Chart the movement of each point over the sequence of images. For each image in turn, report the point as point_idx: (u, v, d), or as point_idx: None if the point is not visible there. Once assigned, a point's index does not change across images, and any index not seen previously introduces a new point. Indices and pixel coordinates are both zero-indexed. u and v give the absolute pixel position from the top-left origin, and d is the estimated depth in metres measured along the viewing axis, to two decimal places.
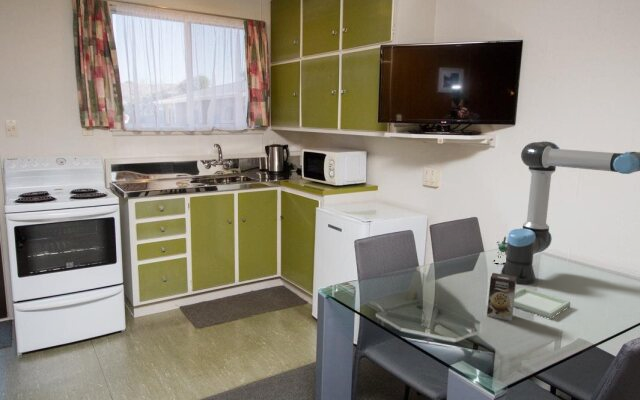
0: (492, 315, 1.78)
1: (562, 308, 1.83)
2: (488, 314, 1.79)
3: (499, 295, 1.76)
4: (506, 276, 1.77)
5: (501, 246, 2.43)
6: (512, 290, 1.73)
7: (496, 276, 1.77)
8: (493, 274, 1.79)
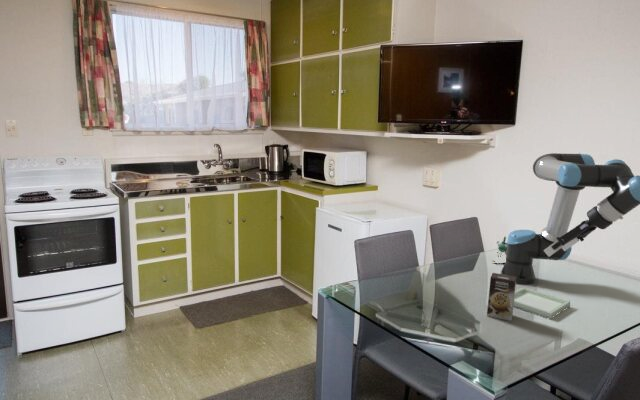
0: (492, 315, 1.78)
1: (562, 308, 1.83)
2: (488, 314, 1.79)
3: (499, 295, 1.76)
4: (506, 276, 1.77)
5: (501, 246, 2.43)
6: (512, 290, 1.73)
7: (496, 276, 1.77)
8: (493, 274, 1.79)
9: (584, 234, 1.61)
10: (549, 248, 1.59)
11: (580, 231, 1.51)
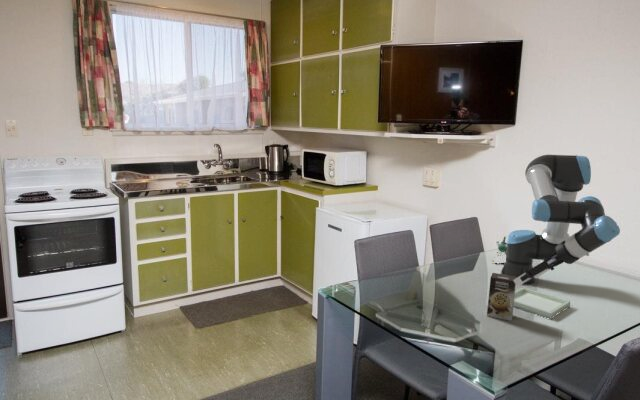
0: (492, 315, 1.78)
1: (562, 308, 1.83)
2: (488, 314, 1.79)
3: (499, 295, 1.76)
4: (506, 276, 1.77)
5: (501, 246, 2.43)
6: (512, 290, 1.73)
7: (496, 276, 1.77)
8: (493, 274, 1.79)
9: None
10: (518, 278, 1.64)
11: (547, 266, 1.55)
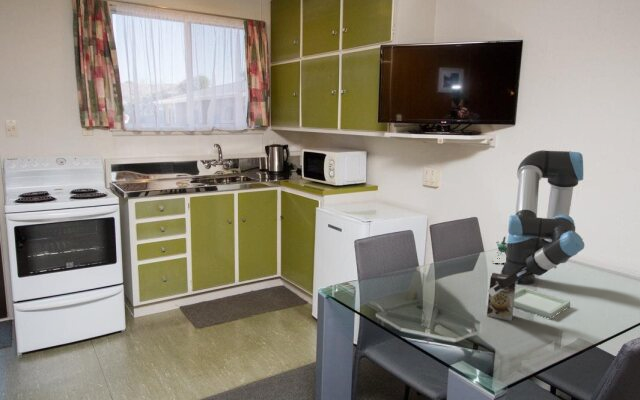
0: (492, 315, 1.78)
1: (562, 308, 1.83)
2: (488, 314, 1.79)
3: (499, 295, 1.76)
4: (506, 276, 1.77)
5: (500, 246, 2.43)
6: (512, 290, 1.73)
7: (496, 276, 1.77)
8: (493, 274, 1.79)
9: None
10: (492, 289, 1.75)
11: (516, 278, 1.66)
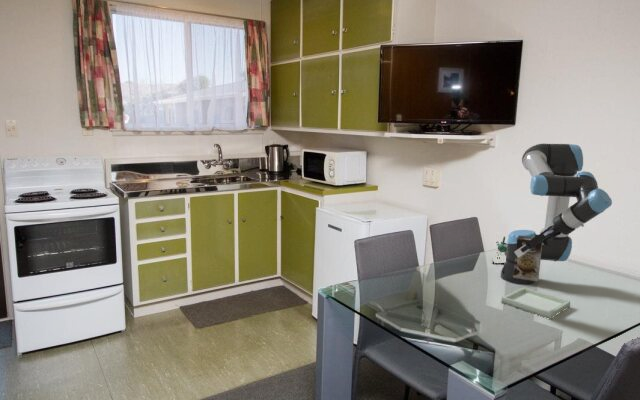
0: (519, 276, 1.82)
1: (562, 308, 1.83)
2: (515, 275, 1.82)
3: (526, 256, 1.79)
4: (532, 238, 1.81)
5: (500, 246, 2.42)
6: (539, 251, 1.76)
7: (522, 238, 1.80)
8: (519, 236, 1.83)
9: None
10: (519, 250, 1.79)
11: (544, 237, 1.69)
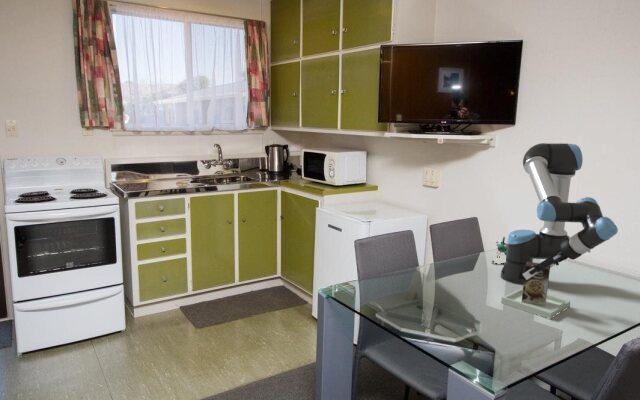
0: (527, 301, 1.89)
1: (562, 308, 1.83)
2: (523, 300, 1.90)
3: (534, 282, 1.87)
4: None
5: (500, 246, 2.42)
6: (546, 277, 1.84)
7: (531, 264, 1.88)
8: (528, 262, 1.90)
9: None
10: (527, 272, 1.84)
11: (553, 261, 1.75)
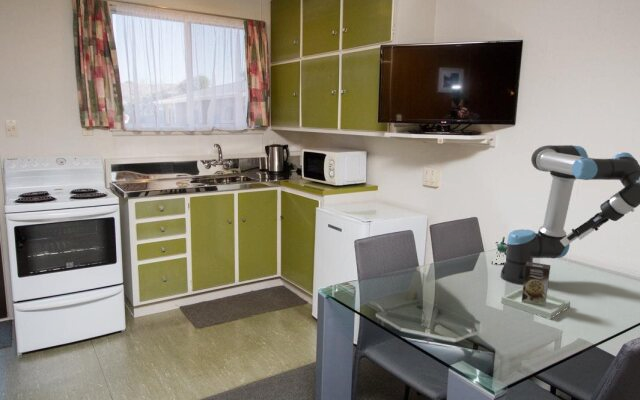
0: (527, 301, 1.89)
1: (562, 308, 1.83)
2: (523, 300, 1.90)
3: (534, 282, 1.87)
4: (540, 264, 1.88)
5: (500, 246, 2.42)
6: (546, 277, 1.84)
7: (531, 264, 1.88)
8: (528, 262, 1.90)
9: (598, 224, 1.73)
10: (565, 238, 1.72)
11: (593, 223, 1.64)
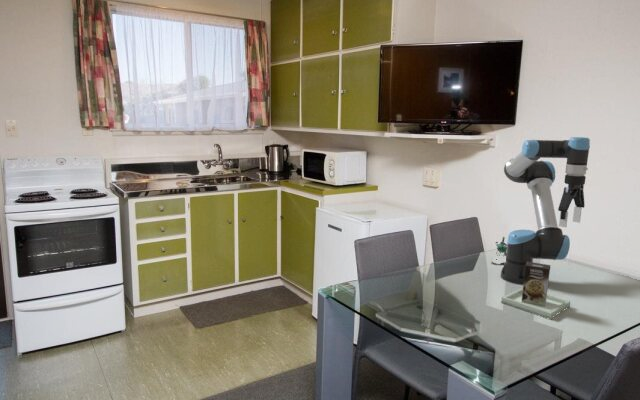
0: (527, 301, 1.89)
1: (562, 308, 1.83)
2: (523, 300, 1.90)
3: (534, 282, 1.87)
4: (540, 264, 1.88)
5: (500, 246, 2.42)
6: (546, 277, 1.84)
7: (531, 264, 1.88)
8: (528, 262, 1.90)
9: (579, 199, 1.95)
10: (561, 221, 1.91)
11: (568, 194, 1.88)
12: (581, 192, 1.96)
